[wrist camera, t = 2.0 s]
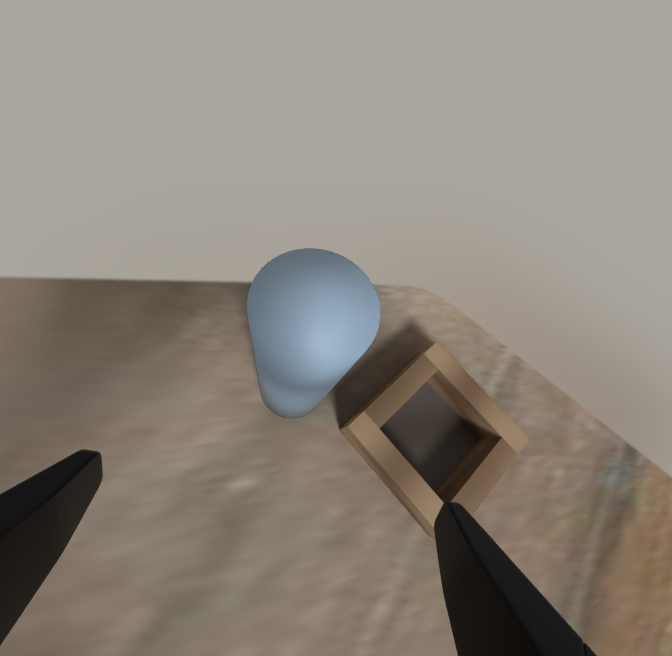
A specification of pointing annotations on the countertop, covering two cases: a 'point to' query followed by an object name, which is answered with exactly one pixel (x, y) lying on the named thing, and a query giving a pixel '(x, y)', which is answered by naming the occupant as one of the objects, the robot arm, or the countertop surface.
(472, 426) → the socket block
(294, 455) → the countertop surface
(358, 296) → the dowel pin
